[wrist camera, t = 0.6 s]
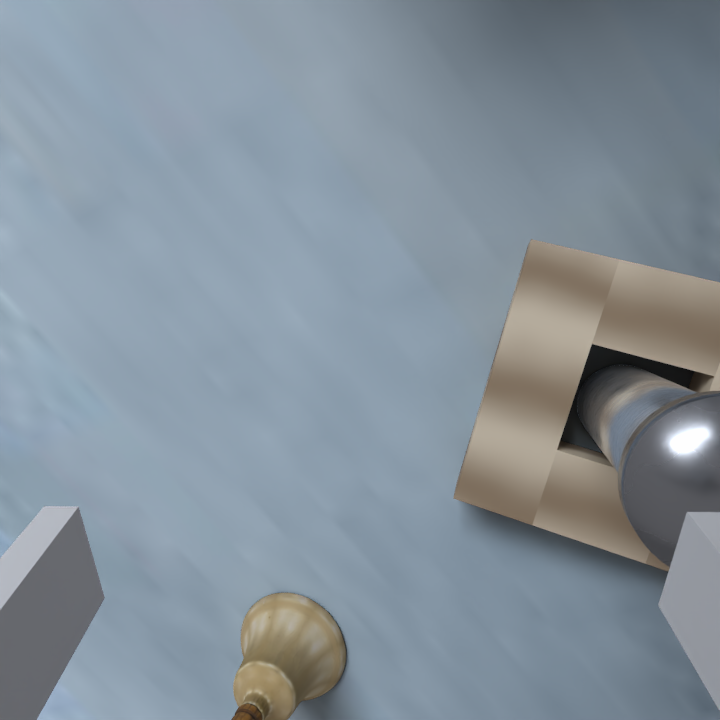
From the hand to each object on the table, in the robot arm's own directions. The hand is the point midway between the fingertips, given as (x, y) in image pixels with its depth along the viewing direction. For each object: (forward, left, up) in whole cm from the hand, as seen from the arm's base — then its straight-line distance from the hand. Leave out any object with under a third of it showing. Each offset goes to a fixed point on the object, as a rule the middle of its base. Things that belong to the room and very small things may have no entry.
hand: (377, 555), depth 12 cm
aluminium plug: (-2, +10, -24) cm, 26 cm away
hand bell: (+22, -6, -24) cm, 33 cm away
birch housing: (-2, +10, -24) cm, 26 cm away
